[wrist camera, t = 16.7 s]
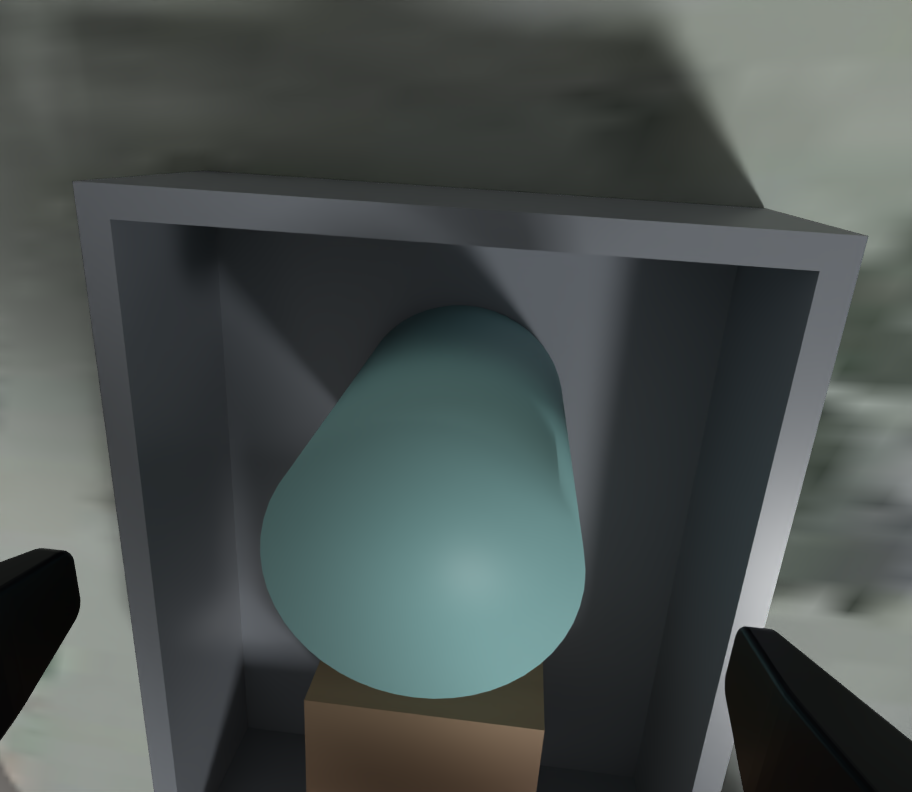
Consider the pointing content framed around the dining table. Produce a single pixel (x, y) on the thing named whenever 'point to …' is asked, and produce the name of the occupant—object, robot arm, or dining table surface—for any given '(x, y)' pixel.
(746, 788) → the robot arm
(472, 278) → the tote
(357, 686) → the walnut block
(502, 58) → the dining table surface
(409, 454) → the teal capsule
